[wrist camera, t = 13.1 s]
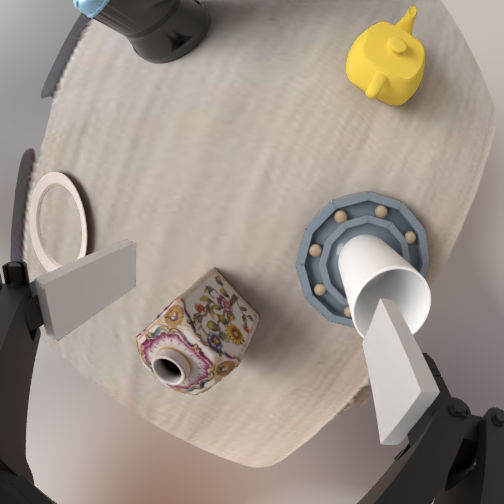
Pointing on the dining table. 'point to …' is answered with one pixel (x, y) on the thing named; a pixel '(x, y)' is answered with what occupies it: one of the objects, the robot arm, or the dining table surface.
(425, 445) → the robot arm
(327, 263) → the tray
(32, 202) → the plate
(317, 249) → the beads
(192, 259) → the dining table surface
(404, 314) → the cup
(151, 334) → the decorative jar
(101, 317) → the dining table surface
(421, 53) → the teapot
